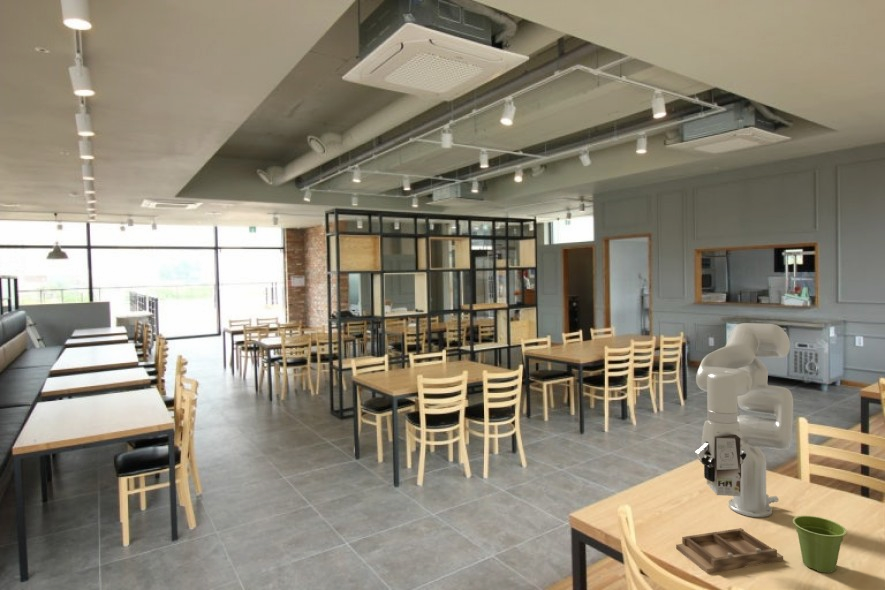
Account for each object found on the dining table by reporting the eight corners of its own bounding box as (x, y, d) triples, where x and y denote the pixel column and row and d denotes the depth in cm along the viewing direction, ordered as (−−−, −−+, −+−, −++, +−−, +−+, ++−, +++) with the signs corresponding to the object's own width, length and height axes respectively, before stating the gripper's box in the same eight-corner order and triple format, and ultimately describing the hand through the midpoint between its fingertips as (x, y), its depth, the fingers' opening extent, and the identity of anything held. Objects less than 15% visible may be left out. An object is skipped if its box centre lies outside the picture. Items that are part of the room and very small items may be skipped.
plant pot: (858, 574, 138) (858, 532, 138) (820, 581, 136) (820, 538, 135) (817, 551, 150) (817, 512, 149) (782, 557, 147) (782, 518, 147)
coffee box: (741, 496, 143) (741, 438, 143) (716, 495, 144) (715, 437, 144) (729, 483, 152) (729, 428, 151) (705, 482, 153) (705, 427, 153)
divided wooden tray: (747, 537, 158) (746, 524, 158) (783, 560, 146) (783, 546, 145) (676, 548, 154) (676, 535, 153) (707, 573, 141) (707, 558, 141)
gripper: (738, 411, 153) (738, 470, 154) (686, 415, 149) (686, 476, 150) (759, 417, 146) (759, 479, 146) (705, 422, 142) (705, 486, 142)
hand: (722, 477), depth 148 cm, fingers closed on coffee box, 8 cm apart
